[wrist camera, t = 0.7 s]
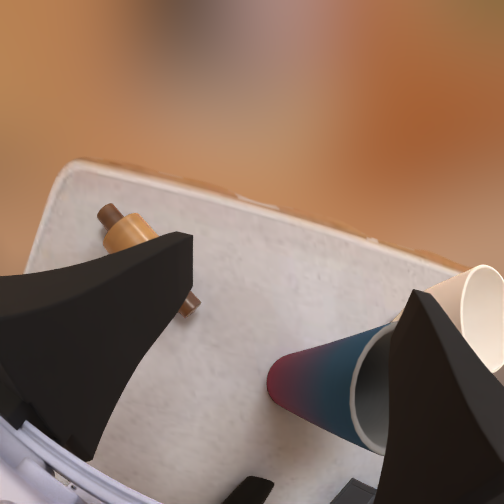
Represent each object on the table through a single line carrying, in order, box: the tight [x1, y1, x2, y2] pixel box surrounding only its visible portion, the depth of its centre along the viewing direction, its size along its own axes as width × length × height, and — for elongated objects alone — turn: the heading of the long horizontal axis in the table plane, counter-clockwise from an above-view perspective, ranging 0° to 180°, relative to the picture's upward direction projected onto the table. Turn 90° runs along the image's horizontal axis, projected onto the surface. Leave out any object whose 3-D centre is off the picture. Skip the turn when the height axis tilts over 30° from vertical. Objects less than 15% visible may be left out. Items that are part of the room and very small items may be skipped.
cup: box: [267, 321, 398, 456], centre depth 20 cm, size 7×7×15 cm
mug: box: [391, 265, 504, 373], centre depth 25 cm, size 12×9×12 cm
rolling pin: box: [97, 203, 201, 318], centre depth 25 cm, size 4×11×4 cm, turn 47°
